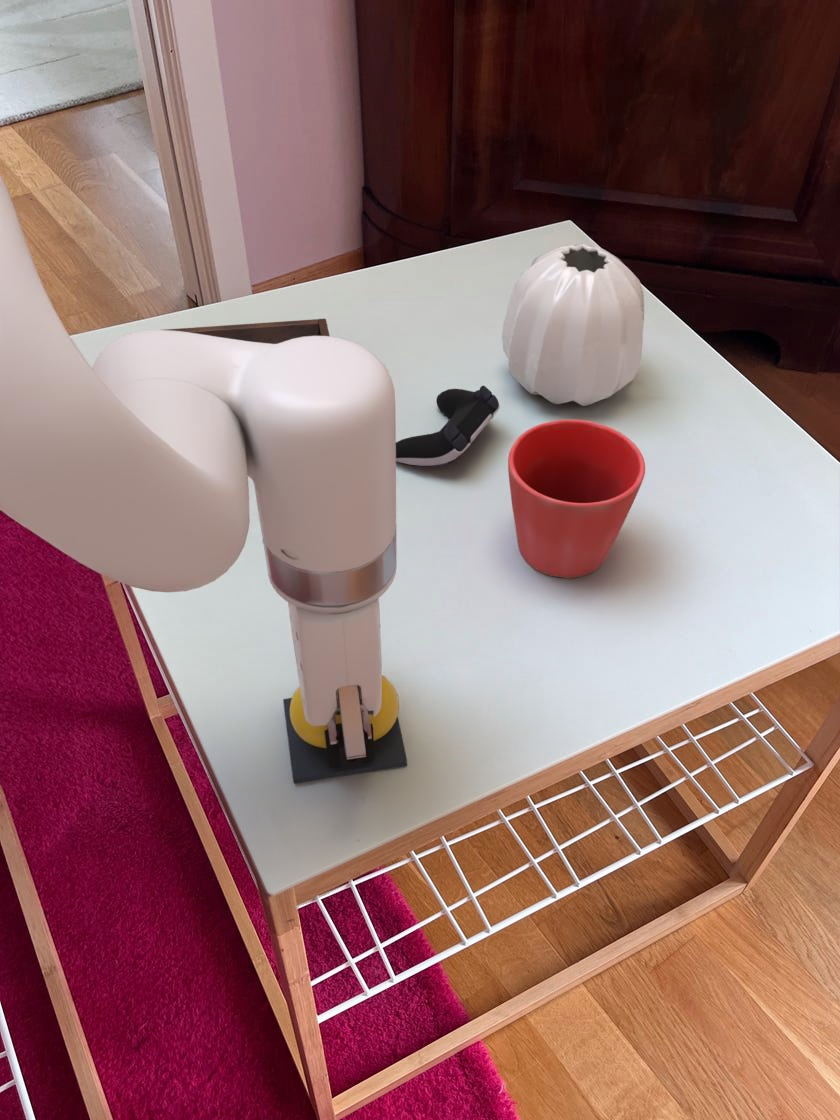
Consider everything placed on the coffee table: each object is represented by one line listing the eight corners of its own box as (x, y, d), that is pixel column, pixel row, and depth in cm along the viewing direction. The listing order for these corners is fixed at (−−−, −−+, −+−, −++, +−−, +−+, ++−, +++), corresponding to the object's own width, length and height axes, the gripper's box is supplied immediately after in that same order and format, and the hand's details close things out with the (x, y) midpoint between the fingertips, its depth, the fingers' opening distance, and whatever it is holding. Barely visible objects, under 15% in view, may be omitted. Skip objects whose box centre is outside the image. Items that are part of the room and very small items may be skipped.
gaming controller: (412, 490, 91) (462, 468, 86) (382, 452, 90) (432, 428, 85) (464, 427, 98) (514, 403, 93) (438, 390, 96) (487, 364, 91)
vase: (541, 327, 106) (556, 206, 96) (656, 374, 102) (685, 253, 92) (472, 388, 98) (481, 264, 88) (593, 442, 94) (618, 318, 84)
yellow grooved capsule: (296, 767, 68) (290, 725, 64) (289, 707, 71) (283, 663, 67) (404, 751, 70) (405, 708, 66) (392, 693, 73) (392, 649, 69)
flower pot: (488, 509, 87) (497, 420, 80) (607, 501, 89) (626, 413, 81) (510, 597, 81) (522, 509, 73) (638, 586, 82) (662, 500, 75)
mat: (293, 784, 68) (293, 779, 68) (283, 703, 72) (283, 698, 72) (407, 766, 70) (407, 761, 69) (390, 688, 74) (390, 683, 73)
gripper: (253, 458, 61) (281, 643, 75) (279, 673, 51) (306, 841, 64) (373, 447, 62) (378, 630, 76) (422, 653, 52) (418, 822, 66)
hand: (345, 725), depth 70 cm, fingers closed on yellow grooved capsule, 5 cm apart
